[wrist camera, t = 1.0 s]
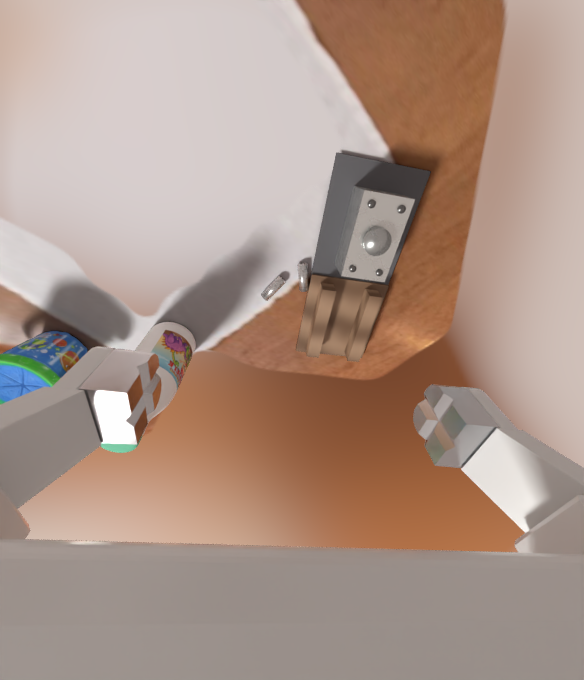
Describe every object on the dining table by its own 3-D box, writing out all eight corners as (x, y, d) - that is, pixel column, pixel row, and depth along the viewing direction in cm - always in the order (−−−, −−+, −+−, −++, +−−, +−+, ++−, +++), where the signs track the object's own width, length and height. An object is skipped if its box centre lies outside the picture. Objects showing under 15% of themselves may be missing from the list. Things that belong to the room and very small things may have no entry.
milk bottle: (160, 360, 49) (100, 465, 32) (141, 323, 44) (59, 423, 28) (202, 354, 48) (163, 457, 32) (187, 316, 44) (132, 413, 28)
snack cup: (26, 367, 48) (-27, 411, 40) (0, 315, 43) (-68, 354, 34) (120, 374, 50) (88, 419, 42) (107, 326, 44) (67, 366, 36)
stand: (311, 272, 41) (314, 281, 38) (387, 283, 42) (395, 292, 39) (295, 348, 48) (296, 360, 46) (360, 355, 50) (365, 367, 47)
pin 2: (296, 263, 40) (300, 266, 39) (304, 261, 40) (309, 264, 39) (297, 289, 42) (301, 292, 41) (306, 287, 42) (310, 290, 41)
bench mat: (336, 152, 33) (337, 152, 32) (429, 171, 34) (430, 171, 34) (310, 279, 41) (310, 280, 41) (385, 289, 43) (385, 290, 42)
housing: (354, 185, 34) (366, 190, 29) (399, 194, 35) (418, 200, 30) (334, 263, 40) (342, 278, 35) (373, 269, 40) (387, 285, 35)
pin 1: (286, 284, 41) (284, 279, 42) (280, 279, 40) (278, 274, 41) (268, 301, 42) (267, 296, 43) (262, 297, 41) (260, 292, 42)
